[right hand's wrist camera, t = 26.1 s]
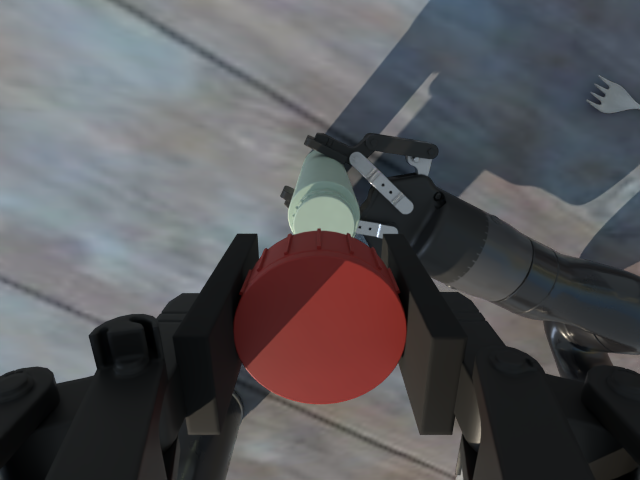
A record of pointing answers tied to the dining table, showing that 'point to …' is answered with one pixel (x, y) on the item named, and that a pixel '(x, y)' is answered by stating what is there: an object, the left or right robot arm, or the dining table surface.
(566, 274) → the left robot arm
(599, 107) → the fork
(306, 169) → the bottle
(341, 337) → the lid
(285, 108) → the dining table surface
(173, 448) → the right robot arm
